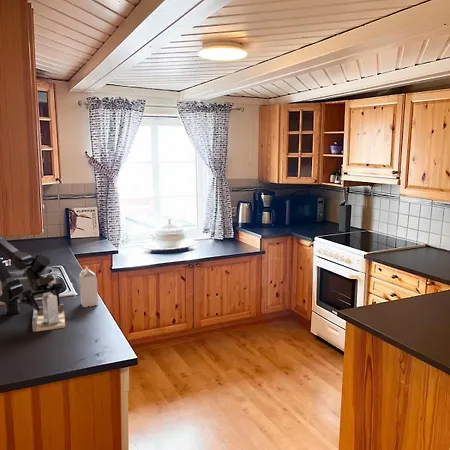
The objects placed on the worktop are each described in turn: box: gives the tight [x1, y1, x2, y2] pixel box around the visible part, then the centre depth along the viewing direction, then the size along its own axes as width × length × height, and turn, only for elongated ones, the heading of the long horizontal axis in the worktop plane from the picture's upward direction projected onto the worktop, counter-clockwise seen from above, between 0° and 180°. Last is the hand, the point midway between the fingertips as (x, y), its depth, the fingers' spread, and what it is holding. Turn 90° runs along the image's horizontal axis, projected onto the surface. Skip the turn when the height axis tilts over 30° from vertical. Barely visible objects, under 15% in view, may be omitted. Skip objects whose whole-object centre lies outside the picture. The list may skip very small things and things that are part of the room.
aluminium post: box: [41, 294, 59, 325], centre depth 199 cm, size 4×4×12 cm
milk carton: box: [78, 265, 99, 308], centre depth 224 cm, size 7×7×19 cm
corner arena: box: [31, 303, 66, 332], centre depth 204 cm, size 20×13×4 cm, turn 20°
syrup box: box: [42, 274, 57, 296], centre depth 224 cm, size 6×6×14 cm
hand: (49, 308), depth 200 cm, fingers open, 9 cm apart
